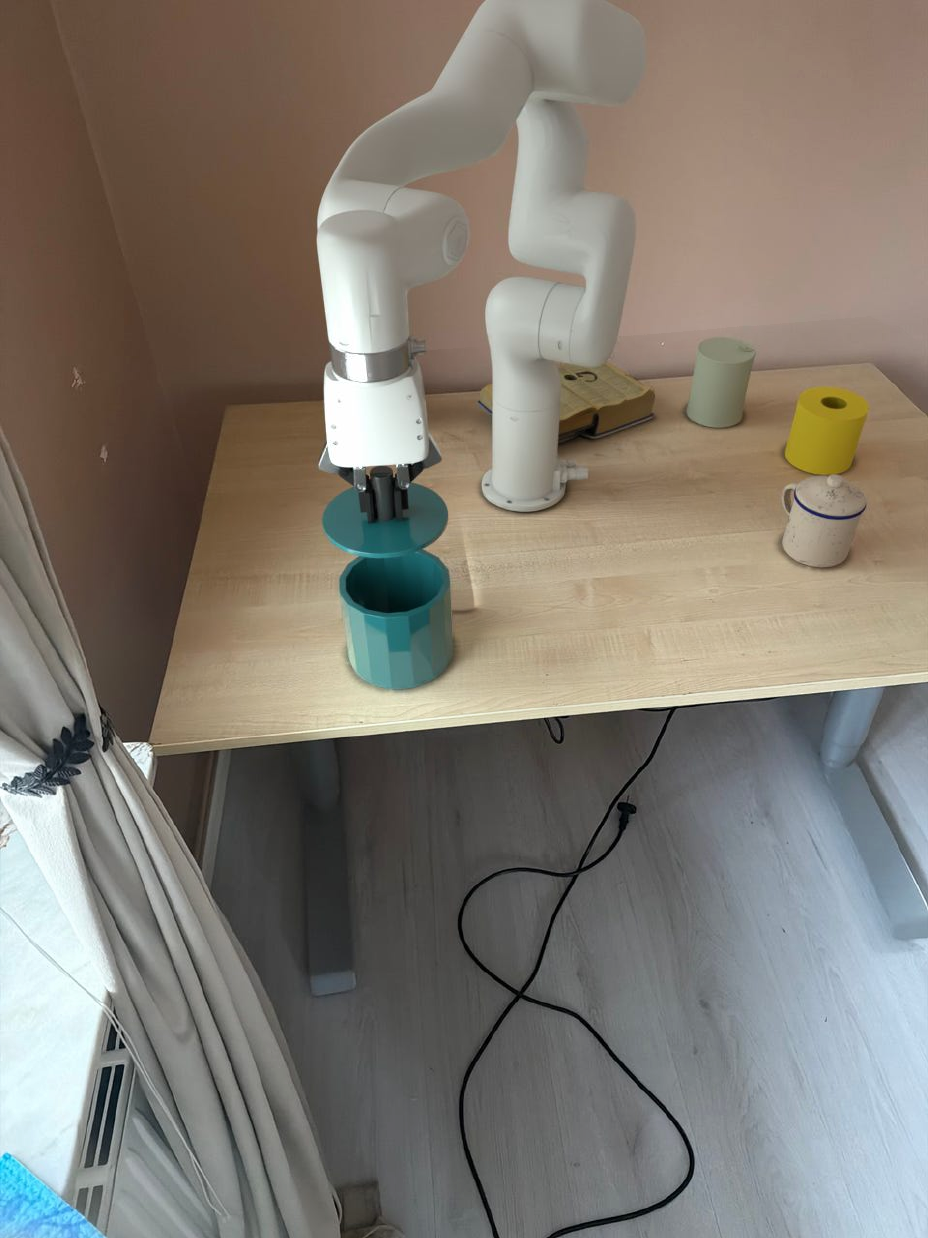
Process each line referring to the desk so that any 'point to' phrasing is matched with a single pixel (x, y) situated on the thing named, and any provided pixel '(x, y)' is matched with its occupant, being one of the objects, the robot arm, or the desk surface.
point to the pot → (397, 618)
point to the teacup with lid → (821, 519)
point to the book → (594, 401)
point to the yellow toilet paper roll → (826, 430)
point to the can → (720, 381)
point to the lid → (385, 519)
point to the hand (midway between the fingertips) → (385, 513)
